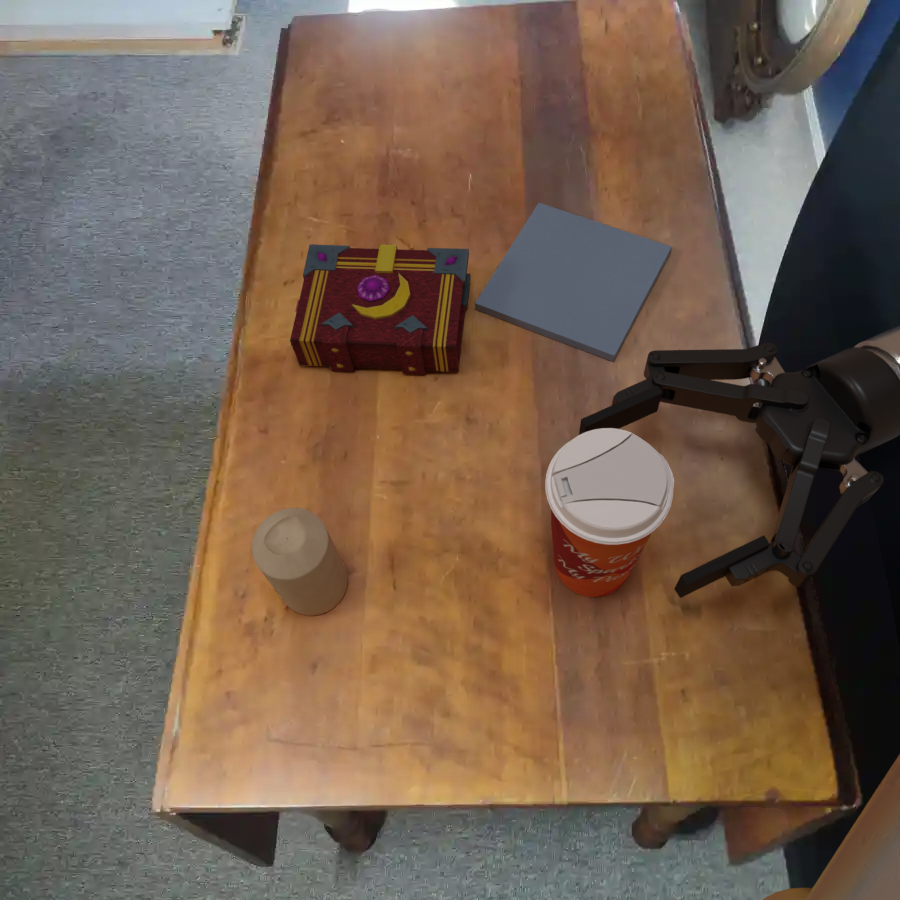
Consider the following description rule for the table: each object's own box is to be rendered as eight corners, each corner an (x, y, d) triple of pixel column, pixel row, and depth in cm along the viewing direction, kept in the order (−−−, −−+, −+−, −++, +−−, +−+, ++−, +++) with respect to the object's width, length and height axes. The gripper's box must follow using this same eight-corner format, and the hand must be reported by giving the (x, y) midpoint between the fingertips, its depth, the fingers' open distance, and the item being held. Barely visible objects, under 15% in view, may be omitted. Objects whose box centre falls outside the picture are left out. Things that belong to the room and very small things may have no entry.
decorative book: (460, 377, 76) (456, 345, 72) (286, 370, 78) (272, 337, 74) (471, 279, 82) (468, 243, 77) (308, 274, 83) (296, 239, 79)
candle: (305, 540, 70) (275, 486, 61) (361, 570, 68) (339, 519, 59) (266, 596, 67) (229, 549, 59) (323, 629, 66) (294, 585, 57)
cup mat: (613, 362, 76) (614, 355, 75) (475, 309, 80) (474, 302, 79) (670, 253, 81) (672, 246, 81) (538, 209, 85) (538, 202, 84)
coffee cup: (555, 622, 65) (565, 548, 52) (528, 526, 69) (531, 435, 56) (660, 598, 65) (697, 519, 52) (627, 504, 69) (654, 408, 56)
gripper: (967, 548, 61) (716, 676, 58) (764, 305, 73) (545, 401, 70) (1022, 504, 55) (741, 645, 51) (789, 245, 66) (548, 348, 63)
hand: (628, 505), depth 60 cm, fingers open, 13 cm apart
